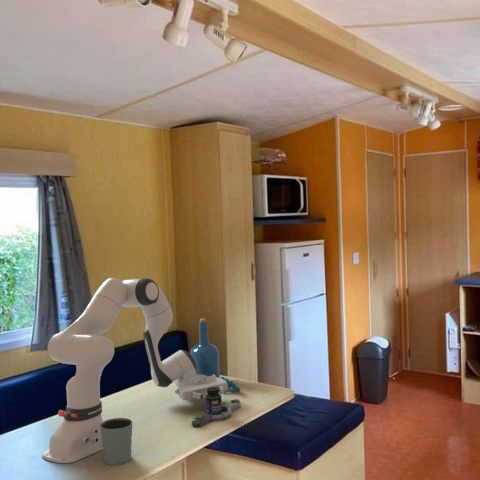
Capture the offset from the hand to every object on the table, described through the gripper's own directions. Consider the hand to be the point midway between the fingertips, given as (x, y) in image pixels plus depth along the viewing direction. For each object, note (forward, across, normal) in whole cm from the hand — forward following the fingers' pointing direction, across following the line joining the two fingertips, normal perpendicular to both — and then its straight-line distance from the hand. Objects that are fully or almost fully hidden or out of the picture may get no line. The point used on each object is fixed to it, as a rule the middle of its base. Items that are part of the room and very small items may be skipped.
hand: (212, 394), depth 219 cm
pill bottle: (+4, -1, +8) cm, 9 cm away
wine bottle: (-37, +16, +8) cm, 41 cm away
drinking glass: (+18, -44, +8) cm, 48 cm away
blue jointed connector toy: (-18, +18, +8) cm, 27 cm away
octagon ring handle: (+4, 0, +8) cm, 8 cm away
